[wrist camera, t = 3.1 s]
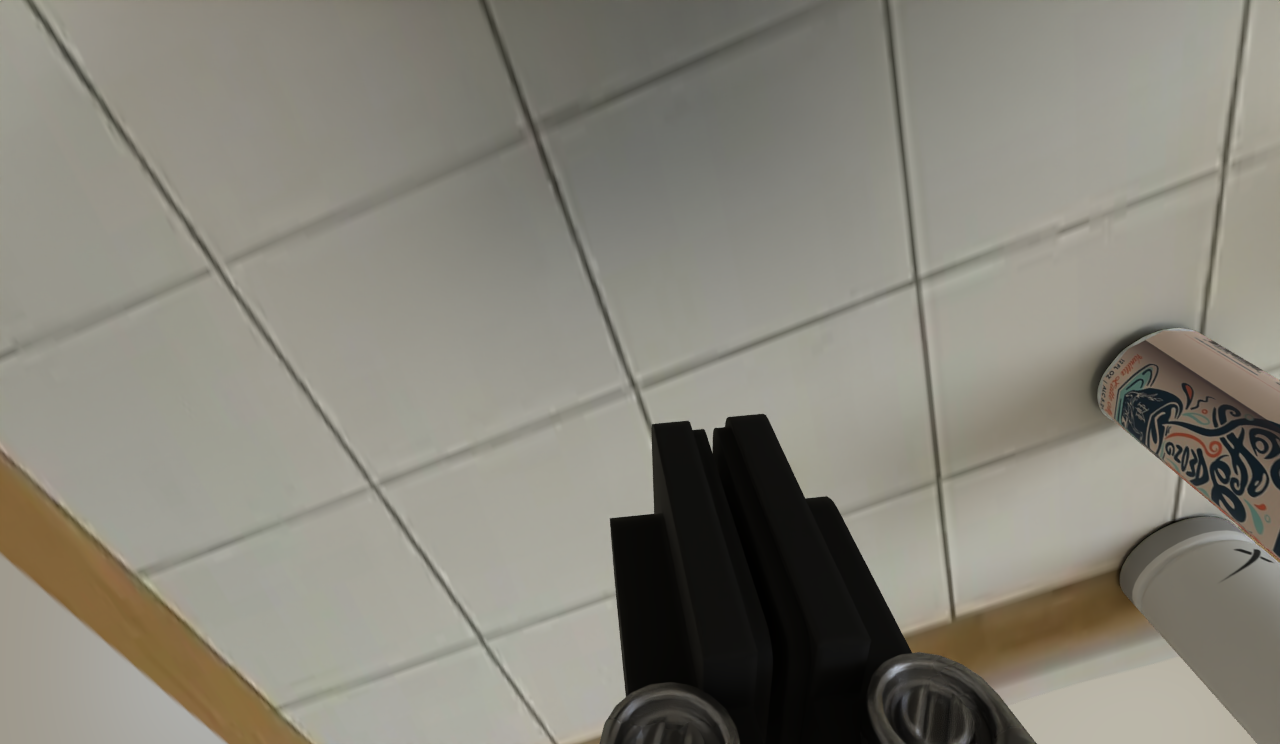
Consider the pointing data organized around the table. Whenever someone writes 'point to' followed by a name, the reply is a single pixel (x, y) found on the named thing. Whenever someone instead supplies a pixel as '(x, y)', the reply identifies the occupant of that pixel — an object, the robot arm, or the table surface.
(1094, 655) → the table surface
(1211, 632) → the travel mug
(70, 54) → the table surface
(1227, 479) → the beer can
